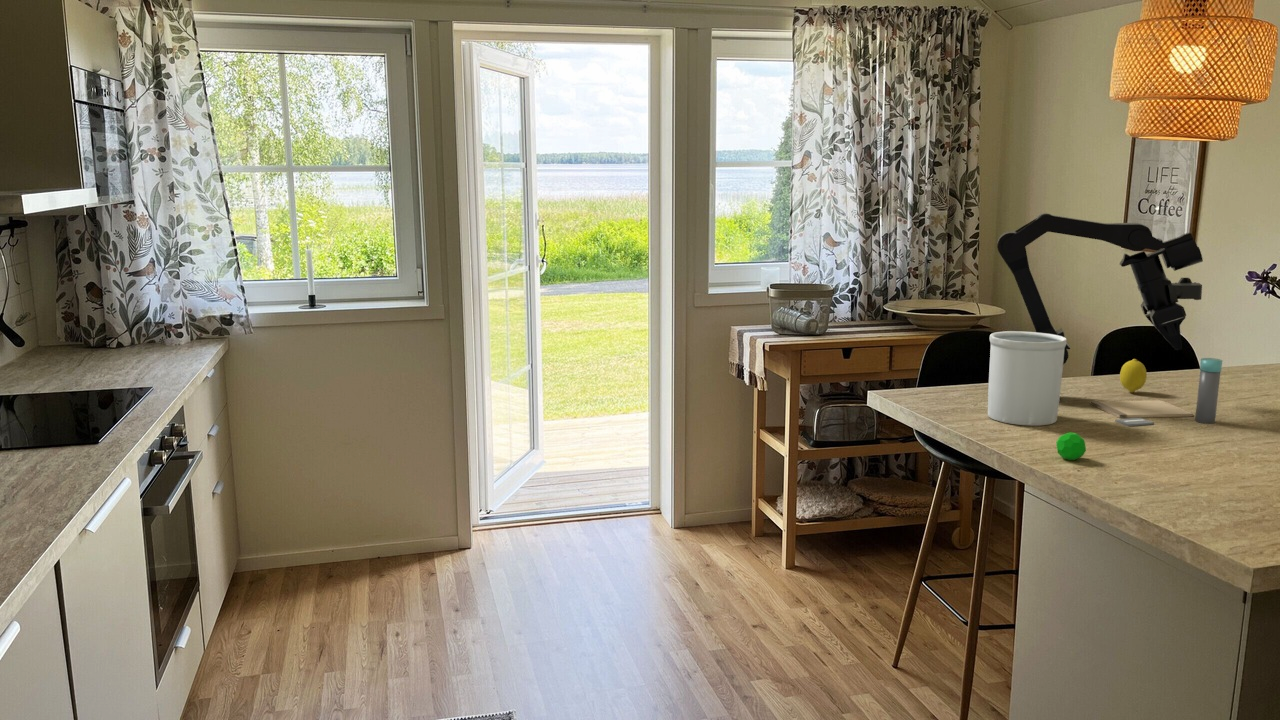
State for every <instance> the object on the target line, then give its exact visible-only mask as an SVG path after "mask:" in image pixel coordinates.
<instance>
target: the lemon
mask: <svg viewBox="0 0 1280 720" xmlns="http://www.w3.org/2000/svg"><path fill="white" fill-rule="evenodd" d="M1147 377H1148V376H1147V369H1146V367H1145V365H1144V363H1142V362H1141V361H1139V360H1138V359H1136V358H1133V359H1132V360H1128V361H1126V362H1125V363H1124V364H1123V365H1122V366H1121V369H1120V372H1119V381H1120V384H1121V386H1123V388H1125V389H1126V390H1128V393H1132V394H1133V393H1134V392H1135V391H1138V390H1140V389H1142V388H1143V387H1144V386H1145V383H1146V382H1147V381H1146V380H1147Z"/></svg>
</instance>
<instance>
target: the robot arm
mask: <svg viewBox="0 0 1280 720" xmlns="http://www.w3.org/2000/svg"><path fill="white" fill-rule="evenodd" d="M1046 233H1054V234H1060V235H1067V236H1073V237H1080V238H1086V239H1092V240H1098V241H1103V242H1105V243H1109V244H1111V245H1115V246H1117V247H1120V248H1123V249H1127V250H1129V251H1132V252H1137V253H1134V254H1131V255H1129V254H1127V253H1124V254H1123V257H1122V259H1121V261H1119V266H1121V267H1126V266H1130V267H1131V271H1132V273H1133V276H1134V279H1135V281H1136V283H1137V289H1138V291H1139V294H1140V296H1141V298H1142V302H1141V303H1140V308H1141V311H1142V313H1143V315H1144V317H1145V318H1146V319H1147V320H1148V321H1149V322H1150V323H1151V324H1152V325H1153V326H1154V328H1155V329H1156V330H1157V331H1158V333H1160V334H1161V335H1162V336H1163V338H1164V339H1165V340H1166V341H1167V342H1168V343H1169V345H1171V346H1172V348H1174V350H1176V351H1179V350H1182V348H1183V347H1182V338H1181V337H1182V336H1181V325H1182V323H1183V322H1184V320H1185V319H1187V318H1186V316H1187V313H1186V310H1185V307H1184V306H1182V305H1181V304H1179V300H1194V301H1200V300H1202V295H1203V294H1202V293H1203V284H1201V283H1199V282H1193V281H1192V279H1191V278H1190V277H1180V279H1179V281H1178V282H1172V281H1171V279H1169V278H1168V277H1167V274H1166V272H1165V270H1164V267H1163V264H1162V262H1161V258H1162V261H1163V263H1164V266H1165V268H1166V269H1170V268H1171V269H1172V270H1173V272H1175V271H1178V270H1179V271H1180V270H1181V269H1185V268H1187V267H1191V266H1194V265H1196V264H1200V263H1203V259H1204V258H1203V254H1202V251H1201V249H1200V247H1199V246H1198V245H1197V242H1196V241H1195V238H1194V237H1193V235H1192V233H1191V232H1186V233H1183V234H1181V235H1179V236H1178V237H1177V236H1176V237H1174V238H1172V239H1168V240H1166V241H1163V239H1161V238H1156V237H1155V236H1153V233H1152V231H1151V229H1150V228H1149V227H1148V226H1147V225H1144V224H1142V223H1139V222H1111V223H1109V222H1105V223H1104V222H1100V221H1092V220H1086V219H1085V220H1084V219H1079V218H1073V217H1067V216H1066V217H1065V216H1061V215H1054V214H1051V213H1048V212H1044V213H1041V214H1039V215H1038V216H1037V217H1036V218H1034V219H1033V220H1031V221H1029V222H1027V223H1025V224H1024V225H1023V226H1021V227H1019V228H1017V229H1016V230H1015V231H1013V230H1009V231H1005V232H1004V233H1002V234H1001V235H1000V236H999V237H998V240H997V243H996V244H997V252H998V253H999V255H1000V256H1001V258H1002V259H1003V261H1004V263H1005V264H1006V267H1008V269H1009V270H1010V272H1011V273H1012V275H1013V277H1014V280H1015V281H1016V282H1015V283H1016V285H1017V287H1018V289H1019V292H1020V295H1021V297H1022V300H1023V302H1024V305H1025V307H1026V309H1027V312H1028V314H1029V316H1030V319H1031V322H1032V324H1033V327H1034V330H1035V332H1037V333H1046V334H1053V335H1058V336H1062V337H1065V332H1064V330H1063V328H1062V327H1061V328H1059V329H1056V328H1055V326H1054V325H1053V323H1052V322H1051V320H1050V316H1049V314H1048V312H1047V309H1046V307H1045V304H1044V302H1043V300H1042V297H1041V296H1042V295H1041V294H1040V292H1039V289H1038V287H1037V284H1036V281H1035V280H1034V279H1035V278H1034V277H1033V273H1032V271H1031V270H1030V266H1029V259H1028V254H1027V250H1026V249H1027V248H1026V247H1027V246H1028V245H1030V244H1031V243H1033V242H1034V241H1036V240H1038V239H1039V238H1040V237H1042V236H1043V235H1044V234H1046ZM1146 249H1147V250H1151V251H1153V252H1150V253H1146V252H1145V251H1144V250H1146ZM1160 255H1161V258H1160ZM1069 350H1071V347H1070V345H1069V342H1068V341H1067V343H1066V346H1065V348H1064V361H1063V366H1064V365H1065V364H1066V363H1067V361H1068V359H1069V352H1068V351H1069ZM1061 400H1062V398H1061V397H1060V399H1059V401H1061Z"/></svg>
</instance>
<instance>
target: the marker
mask: <svg viewBox="0 0 1280 720" xmlns="http://www.w3.org/2000/svg"><path fill="white" fill-rule="evenodd" d="M1199 363H1200V364H1199V370H1200V371H1199V378H1198V379H1199V381H1198V386H1197V387H1198V389H1197V397H1196V398H1197V400H1196V406H1195V407H1196V408H1195V415H1194V416H1195V417H1194V422H1197V423H1201V424H1212V425H1213V424H1215V423H1216V418H1217V406H1218V397H1219V389H1220V380H1221V372H1222V367H1223V359H1219V358H1214V357H1213V358H1212V357H1201V359H1200V362H1199Z"/></svg>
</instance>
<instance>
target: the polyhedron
mask: <svg viewBox="0 0 1280 720" xmlns="http://www.w3.org/2000/svg"><path fill="white" fill-rule="evenodd" d="M1055 442H1056V450H1057V454H1058V455H1059V456H1061V458H1063V459H1064V460H1066V459H1068V460H1067V461H1076V460H1077V459H1079V458H1081V457H1083V456H1084V455H1085V453H1086V451H1087V448H1086V446H1087V445H1086V440H1085V439H1084V438H1083V437H1082V436H1081V435H1079V434H1078V433H1077V432H1070V431H1069V432H1067V433H1064V434H1062V435H1060V436H1059V437H1058V439H1057V440H1056V441H1055Z"/></svg>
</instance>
